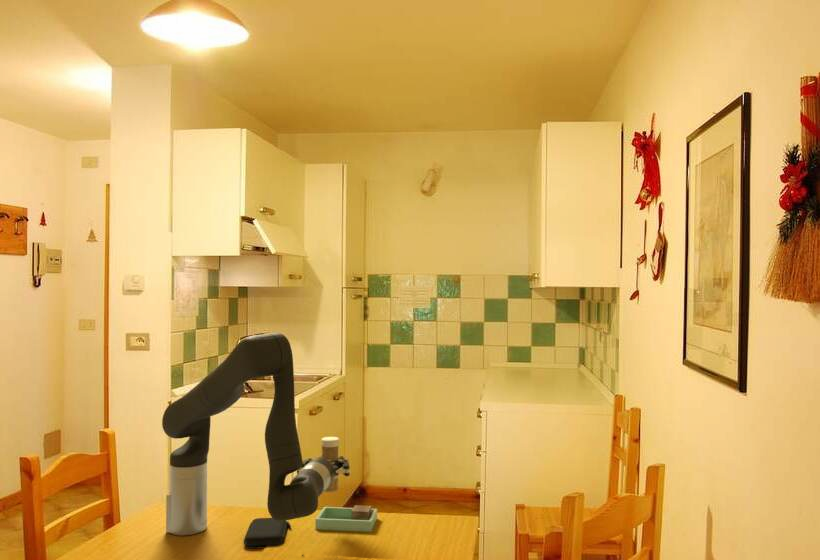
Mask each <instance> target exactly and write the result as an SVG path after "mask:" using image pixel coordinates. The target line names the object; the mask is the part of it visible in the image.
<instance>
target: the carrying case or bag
mask: <svg viewBox="0 0 820 560" xmlns="http://www.w3.org/2000/svg"><path fill="white" fill-rule="evenodd" d="M291 527H292V525H291V524H290V522H289V521H288V520H286V521H276V520H274V519H273V518H272V517H259V518H254V519H253V520H252V521H251V522H250V524H249V526H248V529H247V531H246V534H245V536H244V538H243V545H244V546H245V547H246V548H247V547H248V549H258V548H257V547H264V548H267V546H269V547H270V546H279V545H280V544H282V543H284V542H285V537H286V533H287V529H289V530H291V529H292V528H291Z"/></svg>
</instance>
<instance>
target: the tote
mask: <svg viewBox="0 0 820 560" xmlns="http://www.w3.org/2000/svg"><path fill="white" fill-rule="evenodd" d="M352 509H353V507H342V506H341V507H335V506H323V508H322V509H321V510H320V512H319V513H318V514H317V516H316V517H315V519H314V520H315V523H314V524H315V526H314V529H315V530H319V531H320V530H323V531H342V532H344V531H345V532H362V533H363V532H364V533H365V532H367V533H371V532H372V531H373V529H374V526H375V524H376V523H377V520H378V508H371V517H370V519H369V520H351V511H352Z"/></svg>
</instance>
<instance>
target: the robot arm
mask: <svg viewBox="0 0 820 560" xmlns="http://www.w3.org/2000/svg"><path fill="white" fill-rule="evenodd" d="M294 372H295V371H294V357H293V349H292V346H291V343H290V341H289V339H288V338H287V336H286V335H284V334H283V333H279V332H273V333H263V334H262V333H261V334H253V335H250V336H247V337H244V338H243V339H241V340H240V341H239V342H237V344H236V345H235V347H234V348H233V349H232V350H231V352H230V353H229V354H228V356H227V357H226V358H225V359H224V360H223V361H222V362H221V363H220V364H218V366H217V367H216V368H215V369H213V370H212V371H211V372H210V373H208V374H207V375H206V376H205V377H204V378H202V380H201V381H199V383H198V384H196V386H194V387H193V388H192V389H190V390H189V391H188V392H187V393H186V394H184V395H183V396H182V397H179V398H178V399H176V400H175V401H173V402H171V403H170V404H169V405H168V406H167V407H166V408H165V411H164V413H163V416H162V420H161V422H162V424H161V425H162V426H161V427H162V429H163V432H164V433H165V434H166V436H167V437H169V438H170V439H171V438H172V439H175V440H176V439H185V438H188V439H187V441H186V442H185V443H184V444H183V445H181V446H180V447H177V448H176V449H175V450H173V451H172V452H171V453H170V455H169V493H168V494H166V496H165V497H166V502H165V503H166V505H165V510H166V511H165V532H166V533H168V534H169V533H170V534H172V535H175V536H191V535H197V534H200V533H202V532H203V531H205V530H206V529H207V527H208V455H209V452H210V438H211V420H212V419H211V417H213V416H216V415H218V414H221V413H222V412H225V411H227V409H230V407H232V406H233V405H234V404H235V403H237V402H238V401H239V400H240V398H241V397H242V396H243V393H244V389H245V383H247V382H248V381H251V380H255V379H259V378H266V377H272V379H273V384H274V393H273V394H274V395H273V400H272V401H273V402H272V405H271V408H270V411H269V415H268V418H267V421H266V425H265V429H264V443H265V450H266V456H267V461H268V466H269V467H268V468H269V473H268V474H269V477H268V478H269V480H268V493H267V503H266V504H267V511H268V513H269V516H271V517H270V518H273V519H274V520H276V521H291V520H295V519H300V518H306V517H310V516H311V515H313V514H314V513H315V512H317V510H318V508H319V497H320V496H321V495H322V494H324V493H325V492H324V491H325V490H326V489H327V488H328V487H329V485H330V484H331V483H332V481H333V480H334V477H335V476H337V475H338V476H339V474H342V475H344V477H349V476H350V462H349V459H346V458H345V457H344V456H343V455H340V456H338V459H337V460H334V459H333V460H331V461H327V460H326V459H323V458H322V455H320V456H319V457H315V458H312V457H309V458H307V459H304V460H303V456H302V455H303V454H302V450H301V445H300V439H299V434H298V429H297V421H296V408H295V407H296V406H295V405H296V404H295V399H296V398H295V376H294ZM294 472H296V475H295V476H294V477H293V478H292V480H291V481H290V483H289V484H285V481H286V478H287V476H288V475H289V474H292V473H294Z"/></svg>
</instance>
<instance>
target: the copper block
mask: <svg viewBox="0 0 820 560" xmlns="http://www.w3.org/2000/svg"><path fill="white" fill-rule="evenodd" d="M352 508H353V509H352V511H351V520H369V519H370V517H371V509H372V505H356V504H355V505H354V506H353V507H352Z"/></svg>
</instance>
